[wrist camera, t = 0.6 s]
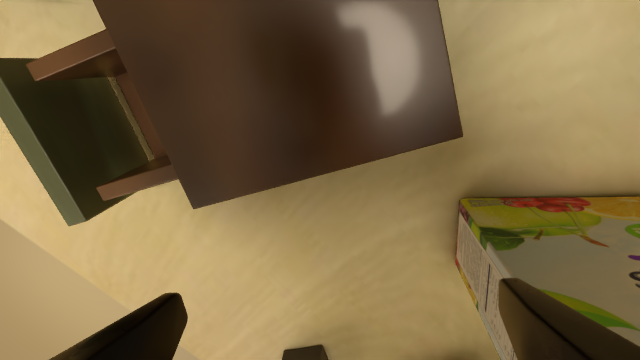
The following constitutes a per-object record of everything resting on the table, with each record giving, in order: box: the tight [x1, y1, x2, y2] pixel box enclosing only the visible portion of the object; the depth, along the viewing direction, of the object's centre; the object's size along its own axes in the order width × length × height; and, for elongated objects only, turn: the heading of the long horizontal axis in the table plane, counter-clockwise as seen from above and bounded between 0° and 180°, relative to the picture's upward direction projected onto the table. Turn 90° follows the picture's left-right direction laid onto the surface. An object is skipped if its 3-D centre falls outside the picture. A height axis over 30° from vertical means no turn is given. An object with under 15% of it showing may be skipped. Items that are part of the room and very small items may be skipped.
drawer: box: [0, 29, 179, 226], centre depth 17 cm, size 12×8×6 cm
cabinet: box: [93, 0, 463, 209], centre depth 15 cm, size 12×9×8 cm
